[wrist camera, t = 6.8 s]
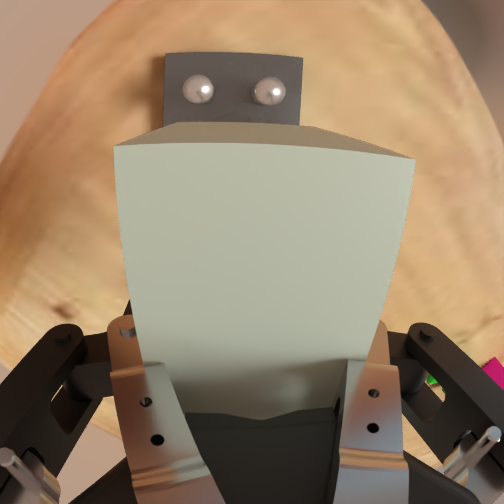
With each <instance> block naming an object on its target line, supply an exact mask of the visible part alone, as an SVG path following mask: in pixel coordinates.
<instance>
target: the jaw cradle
mask: <svg viewBox="0 0 504 504" xmlns="http://www.w3.org/2000/svg"><path fill="white" fill-rule="evenodd" d="M302 70H303V58H300V57H291V56H281V55H270V54H255V53H232V52H190V53H167V54H166V55H165V76H164V111H163V127H165V126H168V125H170V124H173V123H176V122H247V123H269V124H285V125H299V120H300V105H301V88H302Z"/></svg>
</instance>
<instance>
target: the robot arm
mask: <svg viewBox="0 0 504 504" xmlns="http://www.w3.org/2000/svg"><path fill="white" fill-rule="evenodd" d="M428 374H430V375H431V376H432V377H433V378H434V379H435V380H436V381H437V382H438V383H439V384H440V385H441V386H442V388H443V389H444V391H445V401H444V402H442V401H441V400H440V399H439V397H438V396H437V395H436V394H435V393H434V392H433V391H432V390H431V389H430V387H429V386H428V385H427V384H426V383H425V380H426V378H427V376H428ZM61 385H63V386H62V388H61V389H60V390H59V392H58V393H57V395H56V396H55V397H54V399H53V400H52V398H53V396H54V395H55V393H56V392H57V391H58V389H59V388H60V387H61ZM109 396H114V401H115V406H116V412H117V417H118V421H119V426H120V431H121V435H122V440H123V444H124V448H125V452H126V457H125V458H124V459H123V460H122V461H120V462H119V463H118V464H117V465H116V466H114V467H113V468H112V469H111V470H110V471H108V472H107V473H106V474H105V475H104V476H102V477H101V478H100V479H99V480H97V481H96V482H95V483H94V484H93V485H91V486H90V487H89V488H88V489H86V490H85V491H84V492H82V493H81V494H80V495H79V496H77V497H76V498H75V499H74V500H72V501H71V502H70V503H68V504H493V503H494V502H495V501H496V500H497V498H499V497H500V495H502V493H504V390H503V389H502V388H501V387H500V386H499V385H498V384H497V383H496V382H495V381H494V380H493V379H492V378H491V377H490V376H489V375H488V374H486V373H485V372H484V371H483V370H482V369H481V368H480V367H479V366H478V365H477V364H476V363H475V362H474V361H473V360H472V359H471V358H470V357H469V356H468V355H466V354H465V353H464V352H463V351H462V350H461V349H460V348H459V347H458V346H457V345H456V344H455V343H453V342H452V341H451V340H450V339H449V338H448V337H447V336H446V335H445V334H444V333H442V332H441V331H440V330H439V329H438V328H436V327H435V326H433V325H430V324H427V323H415V324H413V325H411V326H410V328H409V331H408V333H407V334H404V333H397V332H390V331H387V328H386V325H385V324H384V323H383V322H382V321H381V320H379V323H378V326H377V329H376V333H375V336H374V339H373V342H372V344H371V347H370V350H369V353H368V356H367V359H366V361H361V360H354V359H347V362H346V365H345V368H344V371H343V374H342V377H341V380H340V383H339V386H338V389H337V391H336V394H335V397H334V400H333V402H332V405H331V407H326V408H316V409H306V410H297V411H294V412H290V413H287V414H283V415H280V416H276V417H273V418H269V419H265V420H256V419H250V418H245V417H239V416H234V415H229V414H224V413H187V412H185V417H184V414H183V412H182V409H181V407H180V404H179V402H178V399H177V396H176V394H175V391H174V388H173V385H172V383H171V380H170V377H169V374H168V371H167V369H166V366H165V364H164V363H158V364H153V365H147V366H144V365H143V360H142V356H141V352H140V347H139V343H138V338H137V333H136V329H135V324H134V319H133V313H132V308H131V303H130V299H129V302H128V304H127V307H126V309H125V312H124V314H123V316H120V317H118V318H116V319H114V320H113V321H112V322H111V323H110V324H109V325H108V327H107V332H104V333H100V334H93V335H87V336H84V335H83V332H82V330H81V328H80V327H78V326H77V325H74V324H61V325H57V326H55V327H53V328H51V329H50V330H49V331H48V332H47V333H46V334H45V335H44V336H43V337H42V338H41V339H40V340H39V341H38V342H37V343H36V345H35V346H34V347H33V348H32V349H31V350H30V351H29V352H28V353H27V354H26V355H25V357H24V358H23V359H22V360H21V361H20V362H19V363H18V364H17V366H16V367H15V368H14V369H13V370H12V371H11V373H10V374H9V375H8V376H7V377H6V378H5V380H4V381H3V382H2V383H1V384H0V504H59V497H60V485H59V483H58V481H57V479H56V478H57V476H58V474H59V472H60V470H61V469H62V467H63V465H64V463H65V462H66V460H67V458H68V457H69V455H70V453H71V451H72V450H73V448H74V446H75V444H76V443H77V441H78V439H79V438H80V436H81V434H82V433H83V431H84V429H85V428H86V426H87V424H88V423H89V421H90V419H91V418H92V416H93V414H94V413H95V411H96V409H97V408H98V406H99V405H100V403H101V401H102V399H103V397H109ZM51 400H52V401H51ZM402 414H403V415H404V416H405V417H406V419H407V420H408V421H409V422H410V424H411V425H412V426H413V427H414V429H415V430H416V431H417V432H418V434H419V435H420V436H421V437H422V439H423V440H424V441H425V443H426V444H427V445H428V446H429V448H430V449H431V450H432V451H433V453H434V454H435V455H436V457H437V458H438V459H439V460H440V462H441V463H442V464H443V471H444V475H443V474H442V473H440V472H438V471H436V470H435V469H433V468H432V467H430V466H428V465H427V464H425V463H423V462H422V461H420V460H418V459H417V458H415V457H414V456H412V455H411V454H409V453H407V452H406V451H404V450H403V432H402Z"/></svg>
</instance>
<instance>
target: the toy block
mask: <svg viewBox="0 0 504 504" xmlns="http://www.w3.org/2000/svg"><path fill="white" fill-rule="evenodd" d="M482 370H483V371H484V372H485V373H486V374H488V375H489V376H490V377H491V378H492V379H493V380H494V381H495V382H496V383H497V384H498V385H499V386H500V387H501V388H502V389H503V390H504V367H503V366H502V365H501V363H500V362H499V361H498V360H497V359H496V357H494V358H493V359H492V360H491V361H490V362H489V363H488V364H486V365H485V366H484V367H483V368H482Z"/></svg>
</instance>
